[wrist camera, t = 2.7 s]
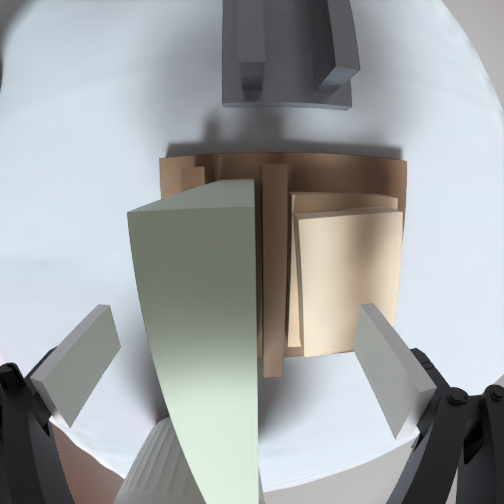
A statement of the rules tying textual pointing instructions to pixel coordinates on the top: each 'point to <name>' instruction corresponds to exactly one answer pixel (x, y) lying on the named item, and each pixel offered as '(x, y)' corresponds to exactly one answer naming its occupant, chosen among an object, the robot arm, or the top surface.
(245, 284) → the panel
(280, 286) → the rack
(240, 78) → the stand
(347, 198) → the offcut lower
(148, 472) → the canister
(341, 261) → the offcut upper
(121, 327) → the top surface
